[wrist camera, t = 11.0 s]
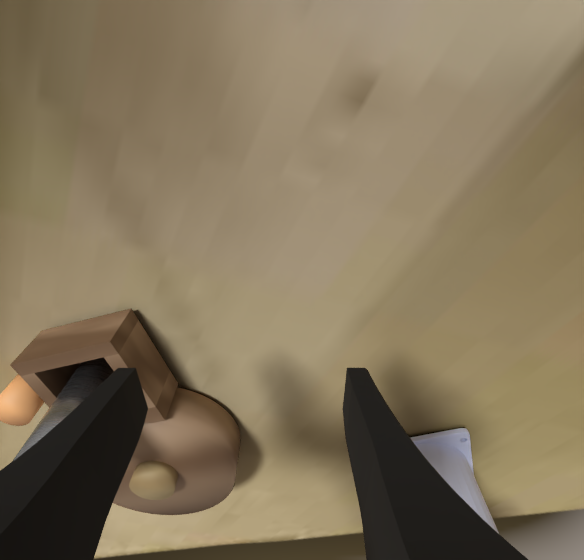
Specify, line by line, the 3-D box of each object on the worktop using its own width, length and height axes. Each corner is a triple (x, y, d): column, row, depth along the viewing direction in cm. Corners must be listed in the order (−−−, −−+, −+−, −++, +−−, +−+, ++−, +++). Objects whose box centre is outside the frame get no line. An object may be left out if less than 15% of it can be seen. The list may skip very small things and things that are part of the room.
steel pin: (139, 372, 24) (78, 496, 17) (109, 391, 25) (40, 516, 18) (102, 344, 23) (21, 466, 16) (72, 365, 24) (-16, 489, 17)
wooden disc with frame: (259, 465, 30) (255, 517, 27) (138, 485, 32) (120, 537, 28) (167, 299, 22) (144, 344, 18) (9, 338, 23) (-41, 387, 20)
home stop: (64, 385, 26) (39, 421, 23) (36, 392, 26) (8, 428, 24) (43, 361, 25) (14, 396, 22) (13, 369, 25) (-19, 404, 23)
